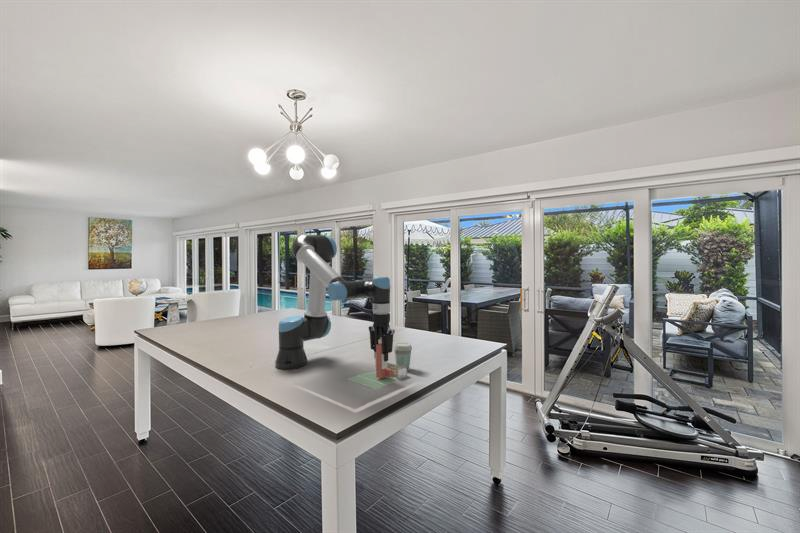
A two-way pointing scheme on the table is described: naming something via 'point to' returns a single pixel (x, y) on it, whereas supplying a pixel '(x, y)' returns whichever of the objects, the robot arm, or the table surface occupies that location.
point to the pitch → (372, 380)
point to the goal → (398, 370)
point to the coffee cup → (403, 354)
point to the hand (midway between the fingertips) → (381, 367)
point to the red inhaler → (379, 371)
